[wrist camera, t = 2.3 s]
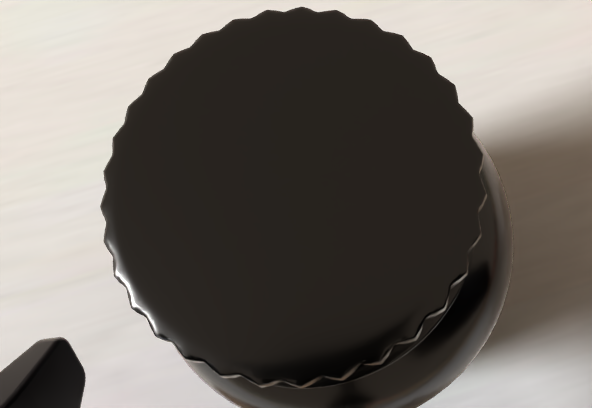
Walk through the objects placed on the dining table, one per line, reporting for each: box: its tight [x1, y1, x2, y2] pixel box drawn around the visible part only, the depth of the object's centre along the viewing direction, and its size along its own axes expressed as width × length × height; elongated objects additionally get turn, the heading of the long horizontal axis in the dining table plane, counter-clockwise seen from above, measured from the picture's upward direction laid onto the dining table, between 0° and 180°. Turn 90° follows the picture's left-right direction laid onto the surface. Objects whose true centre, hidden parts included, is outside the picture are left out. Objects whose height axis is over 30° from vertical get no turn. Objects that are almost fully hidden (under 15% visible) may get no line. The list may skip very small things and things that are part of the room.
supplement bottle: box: [100, 7, 514, 408], centre depth 12 cm, size 7×7×12 cm
